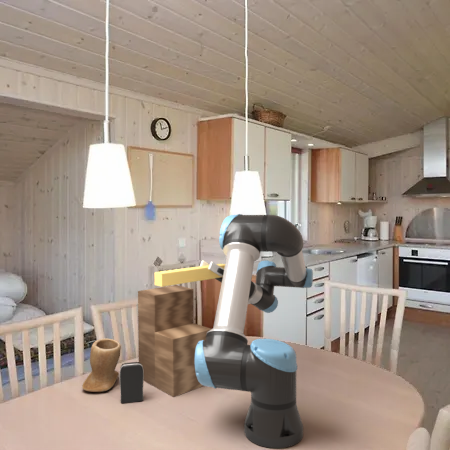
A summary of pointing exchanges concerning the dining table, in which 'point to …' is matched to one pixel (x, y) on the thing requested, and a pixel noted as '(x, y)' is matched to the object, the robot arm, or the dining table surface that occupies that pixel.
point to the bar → (185, 275)
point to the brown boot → (103, 365)
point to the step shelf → (168, 338)
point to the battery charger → (131, 382)
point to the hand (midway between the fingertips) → (205, 264)
